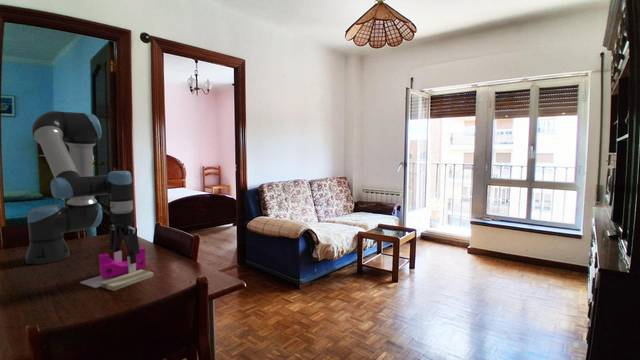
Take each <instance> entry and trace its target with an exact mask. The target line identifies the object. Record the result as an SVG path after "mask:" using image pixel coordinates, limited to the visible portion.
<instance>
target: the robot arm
mask: <svg viewBox="0 0 640 360" xmlns="http://www.w3.org/2000/svg"><path fill="white" fill-rule="evenodd" d="M31 133H32V137H33V139H34V141H35V142H36V143H38V144H39V145H40V147H41V150H42V153H43V154H44V156H45V160H46V162H47V164H48V165H49V168H50V171H51V173H52V175H53V179H51V181H50V191H51V192H50V193H51V195H52V196H53V198H54V199H57V200H59V199H60V200H61V199H68V200H67V201H66V206H62V205H61V204H58V203H57V204H50V205H49V204H47V205H42V206H38V207H35V208H32V209H30V210H29V211H28V212H27V221H26V222H27V227H28V237H29V238H28V239H29V246H28V249H27V252H26V254H25V263H26V264H28V265H43V264H51V263H55V262H59V261H62V260H65V259H68V258H69V257H70V256H71V254H70V249H69V247H68V245H67V243H66V240H65V239H64V234H65V233H72V232H79V231H83V230H85V231H86V230H91V229H95V228H97V227H98V226H99V225H100V224H101V222H102V219H103V207H102V205H101V204H100V203H98V200H97V199H96V198H94V196H105V195H107V196H108V195H109V207H110V208H109V209H110V212H111V213H110V223H112V224H110V225H108V228H109V240H108V242H109V244H108V245H109V247H108V248H109V250H110V251H112V253H113V261H116V262H123V251H122V250H123V249H122V246H121V245H122V244H123V243H122V242H123V241H124V243H125V246H126V250H127V251H126V252H127V253H128V254H127V255H126V257H127V260H128V273H131V272H134V271H137V269H136V254H138V253H140V250H139V247H140V245H139V240H138V239H139V238H138V228H137V227H133V226H132V222H133V221H134V215H135V214H134V211H133V210H134V201H133V178H132V174H131V172H130V171H128V170H114V171H113V170H112V171H110V172H108V174H103V175H94V170H93V169H94V165H93V163H94V160H93V159H94V158H93V152H94V150H93V147H95V146H96V145H97V141H99V140H100V139H101V138H102V126H101V123H100V120H99V118H98V117H97V115H95V114H93V113H87V112H75V111H72V112H71V111H59V110H52V111H51V110H50V111H47V112H45V113H43V114H40V116H38V117H37V118H36V119H35V121H34V122H33V124H32V127H31ZM66 145H67V146H68V148H69V150H68V148H67V146H66ZM127 260H126V261H127ZM128 273H127V274H128Z"/></svg>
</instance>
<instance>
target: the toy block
mask: <svg viewBox="0 0 640 360" xmlns="http://www.w3.org/2000/svg"><path fill="white" fill-rule="evenodd" d="M139 250H140V253H138V254H136V270H140V269H143V268H146V267H147V263H146V261H147V260H146V249H145V248H144V247H143V246H139ZM98 262H99V264H98V265H99V275H101V276H102V278H107V277H112V276H117V275H121V274H128V260H124V261H122V262H116V261H114V259H111V257H110V254H108V252H105V253H101V254H98Z"/></svg>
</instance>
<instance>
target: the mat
mask: <svg viewBox="0 0 640 360" xmlns="http://www.w3.org/2000/svg"><path fill="white" fill-rule="evenodd" d="M122 275H125V274H121V275H117V276H112V277H107V278H102V276H101V274H99V275H97V276H95V277H92V278H91V277H90V278H88V279H85V280H82V281H79V284H81V285H85V286H88V287H91V288H94V289H98V288H101V282H104V281H107V280H110V279H113V278H116V277H119V276H122Z"/></svg>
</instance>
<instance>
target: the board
mask: <svg viewBox="0 0 640 360" xmlns="http://www.w3.org/2000/svg"><path fill="white" fill-rule="evenodd" d="M153 277H154V272H153V271H149V270H144V269H143V268H139V269H136V271H134V272H131V273H126V274H125V275H122V276H119V277H116V278H113V279H110V280H107V281H104V282H101V286H100V288H103V289H107V290H110V291H119V290H120V289H123V288H126V287H128V286H131V285H133V284H136V283H140V282H141V281H144V280H147V279H150V278H153Z"/></svg>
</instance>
